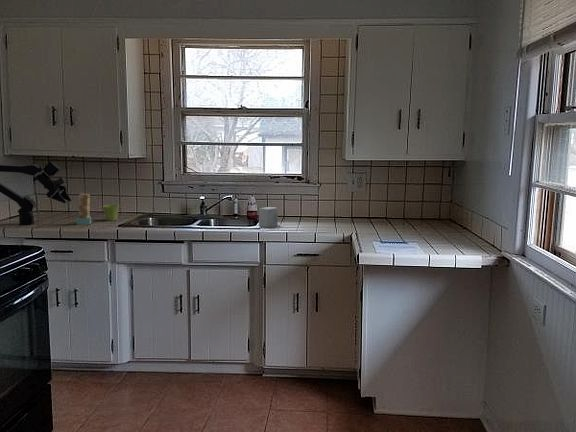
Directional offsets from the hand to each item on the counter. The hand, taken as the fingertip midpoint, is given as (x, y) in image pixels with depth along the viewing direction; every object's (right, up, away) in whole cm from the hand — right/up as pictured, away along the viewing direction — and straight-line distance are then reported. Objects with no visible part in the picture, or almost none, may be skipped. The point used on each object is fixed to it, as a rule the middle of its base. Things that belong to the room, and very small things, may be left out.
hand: (68, 201), depth 300 cm
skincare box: (+113, -14, +2) cm, 114 cm away
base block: (+8, -13, +2) cm, 15 cm away
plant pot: (+19, -11, +16) cm, 27 cm away
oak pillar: (+8, -9, +2) cm, 12 cm away
